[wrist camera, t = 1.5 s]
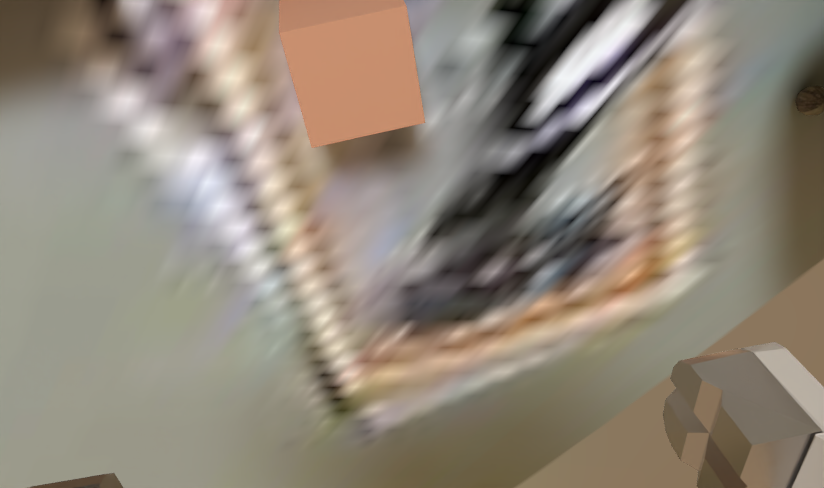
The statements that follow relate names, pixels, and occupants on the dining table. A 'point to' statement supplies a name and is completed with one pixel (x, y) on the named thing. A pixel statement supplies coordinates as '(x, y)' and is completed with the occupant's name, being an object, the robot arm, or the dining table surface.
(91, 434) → the dining table surface
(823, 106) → the tabletop clock
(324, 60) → the terracotta block
